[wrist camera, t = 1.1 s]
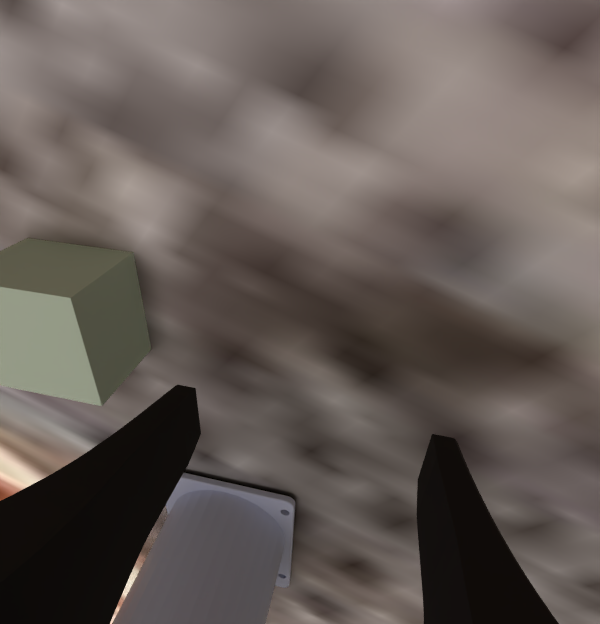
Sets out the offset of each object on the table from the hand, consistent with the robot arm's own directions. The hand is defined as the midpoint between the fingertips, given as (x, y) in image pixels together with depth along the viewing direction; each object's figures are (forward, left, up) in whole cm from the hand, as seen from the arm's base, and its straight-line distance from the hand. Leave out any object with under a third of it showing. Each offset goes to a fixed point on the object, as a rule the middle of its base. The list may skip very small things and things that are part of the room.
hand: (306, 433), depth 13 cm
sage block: (0, +11, -6) cm, 12 cm away
